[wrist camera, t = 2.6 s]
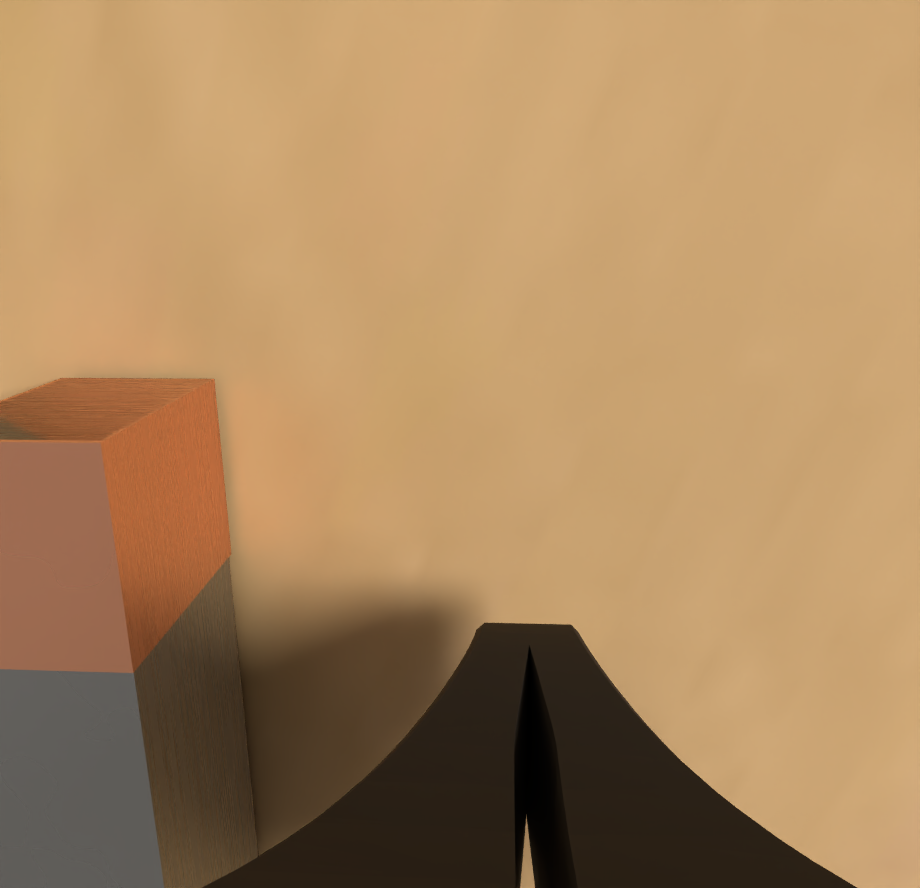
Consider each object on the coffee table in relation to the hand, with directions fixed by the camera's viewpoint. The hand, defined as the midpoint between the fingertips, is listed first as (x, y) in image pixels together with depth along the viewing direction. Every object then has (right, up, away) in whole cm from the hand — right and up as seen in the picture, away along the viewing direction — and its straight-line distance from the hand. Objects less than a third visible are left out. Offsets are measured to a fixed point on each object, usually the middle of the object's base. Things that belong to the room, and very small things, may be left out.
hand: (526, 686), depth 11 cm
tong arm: (-7, -6, +5) cm, 10 cm away
